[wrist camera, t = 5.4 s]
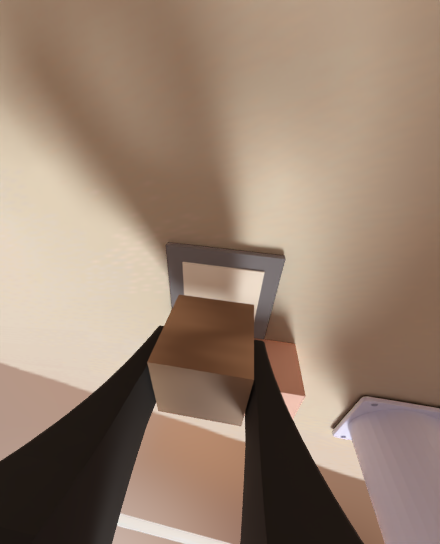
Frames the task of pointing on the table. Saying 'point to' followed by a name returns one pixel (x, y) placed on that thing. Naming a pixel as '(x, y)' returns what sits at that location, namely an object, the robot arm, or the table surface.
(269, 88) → the table surface
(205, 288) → the mat
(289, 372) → the terracotta block
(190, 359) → the walnut block
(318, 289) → the table surface
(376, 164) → the table surface
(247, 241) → the table surface
